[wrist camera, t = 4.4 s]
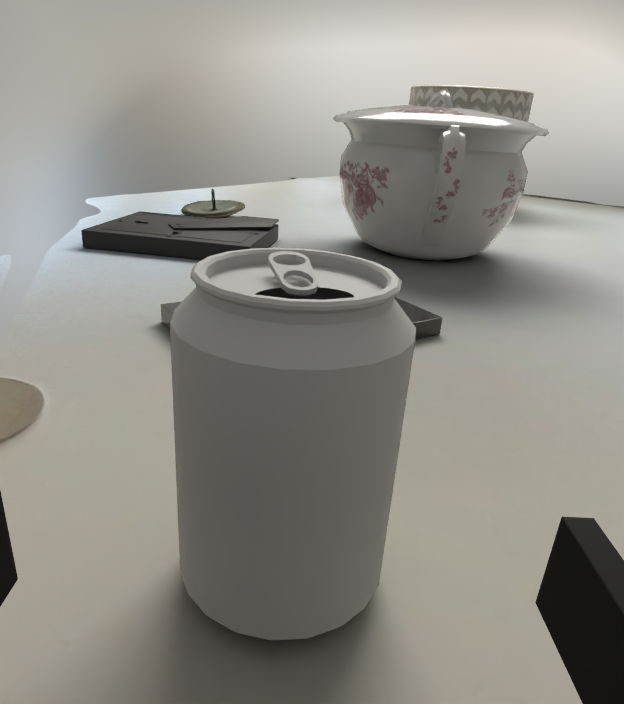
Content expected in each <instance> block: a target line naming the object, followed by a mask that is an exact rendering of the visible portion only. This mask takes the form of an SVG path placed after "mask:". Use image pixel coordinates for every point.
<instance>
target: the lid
mask: <svg viewBox="0 0 624 704" xmlns="http://www.w3.org/2000/svg"><path fill="white" fill-rule="evenodd" d="M212 196H213V197H212V201H198V202H194V203H191V204H187V205H185V206H184V207H183V208H182V210H181V212H182V213H183V214H185V215H189V216H193V217H203V218H221V217H226V216H229V215H232V214H235V213H237V212H239V211H241V210H243V209H244V208H245V205H244V204H243V203H241V202H236V201H231V200H215V197H214V190H213V189H212ZM213 199H214V200H213Z"/></svg>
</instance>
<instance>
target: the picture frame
mask: <svg viewBox="0 0 624 704" xmlns="http://www.w3.org/2000/svg"><path fill="white" fill-rule="evenodd" d="M278 221H279V219H269V218H258V217H248V216H241V217H230V218H219V219H213V218H203V217H192V216H181V215H171V214H160V213H150V212H137V213H134V214H131V215H128V216H125V217H121V218H118V219H115V220H112V221H109V222H106V223H103V224H99V225H96V226H93V227H90V228H87V229H84V230H82V240H83V247H85V248H94V249H104V250H113V251H123V252H133V253H142V254H152V255H162V256H171V257H181V258H190V259H200V260H203V259H205V258H207V257H209V256H212V255H216V254H220V253H224V252H227V251H236V250H244V249H255V248H268V247H269V246H271V245H272V244H273V243H274V242H275V241H276V240H277V239H278V225H277V224H276V223H277V222H278Z"/></svg>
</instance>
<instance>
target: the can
mask: <svg viewBox="0 0 624 704" xmlns="http://www.w3.org/2000/svg"><path fill="white" fill-rule="evenodd" d="M191 279H192V280H193V281H194V282H195V284H196V288H195V289H194V290H193V291H192V292H191V293H190V294H189V295H188V296H187V297H186V298H185V299H184V300H183V301H182V302H181V304H180V305H179V306H178V307H177V308H176V309H175V310H174V313H173V316H172V318H171V321H170V337H171V361H172V385H173V409H174V432H175V456H176V480H177V504H178V528H179V552H180V569H181V573H182V576H183V580H184V583H185V587H186V590H187V593H188V594H189V595H190V597H191V598H192V599H193V600H194V602H195V603H196V604H197V605H198V606H199V608H200V609H201V610H202V611H203V612H204V614H205V615H206V616H208V617H210V618H211V619H213V620H215V621H217V622H218V623H220V624H222V625H223V626H225V627H227V628H228V629H230V630H232V631H234V632H236V633H240V634H245V635H249V636H253V637H258V638H262V639H266V640H289V639H308V638H311V637H313V636H316V635H319V634H322V633H325V632H328V631H331V630H333V629H336V628H339V627H341V626H342V625H344V624H345V623H346V622H348V621H349V620H350V619H352V618H353V617H354V616H355V615H357V614H358V613H359V612H361V611H362V610H363V609H364V608H365V607H366V605H367V604H368V602H369V600H370V599H371V597H372V595H373V594H374V592H375V590H376V589H377V587H378V585H379V579H380V572H381V565H382V559H383V552H384V545H385V539H386V532H387V525H388V519H389V512H390V505H391V498H392V492H393V485H394V478H395V472H396V465H397V458H398V452H399V445H400V438H401V431H402V425H403V418H404V411H405V405H406V398H407V391H408V384H409V378H410V371H411V364H412V358H413V351H414V344H415V335H416V327H415V326H414V324H413V323H412V322H411V320H410V319H409V318H408V316H407V315H406V314H405V312H404V311H403V309H402V308H401V307H400V305H399V304H398V303H397V301H396V300H395V299H394V297H395V296H397V295H398V294H400V289H401V284H402V281H401V280H400V279H399V278H398V277H397V276H396V275H395V273H394V272H393V271H392V270H390V269H388V268H386V267H384V266H382V265H380V264H378V263H376V262H373V261H369V260H366V259H362V258H359V257H355V256H350V255H345V254H340V253H334V252H328V251H319V250H310V249H295V248H255V249H244V250H236V251H227V252H224V253H220V254H216V255H212V256H209V257H207V258H205V259H203V260H202V261H200V262H198V263H196V264H195V265H194V267H193V269H192V272H191Z"/></svg>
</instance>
